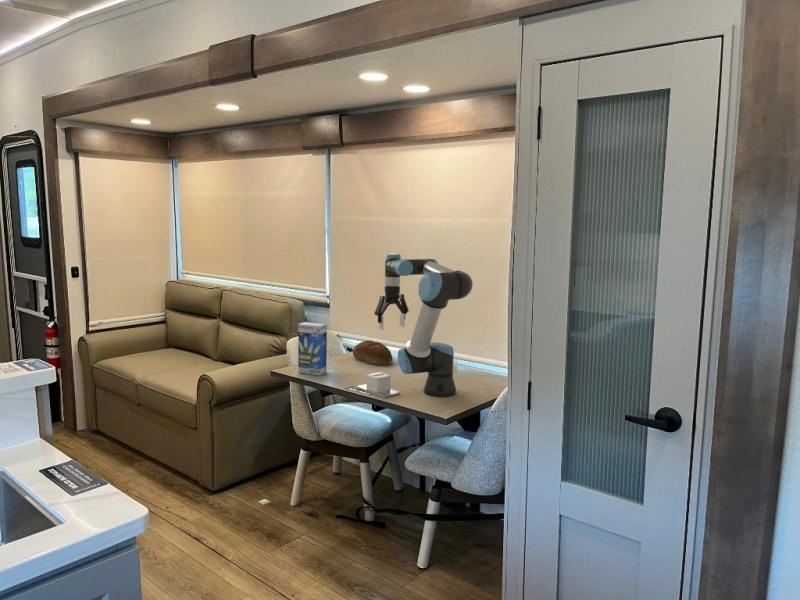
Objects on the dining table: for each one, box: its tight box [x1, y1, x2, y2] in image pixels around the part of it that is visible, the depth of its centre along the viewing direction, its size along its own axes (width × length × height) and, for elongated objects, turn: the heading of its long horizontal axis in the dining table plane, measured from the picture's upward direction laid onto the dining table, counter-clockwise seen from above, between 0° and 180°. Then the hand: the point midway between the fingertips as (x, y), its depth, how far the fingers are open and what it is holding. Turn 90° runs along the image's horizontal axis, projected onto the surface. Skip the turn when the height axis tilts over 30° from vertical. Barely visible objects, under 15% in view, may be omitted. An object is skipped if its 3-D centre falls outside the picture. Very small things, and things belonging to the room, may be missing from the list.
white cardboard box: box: [365, 371, 391, 392], centre depth 281 cm, size 8×8×7 cm
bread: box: [352, 339, 393, 366], centre depth 340 cm, size 16×29×11 cm, turn 40°
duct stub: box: [356, 383, 401, 399], centre depth 281 cm, size 20×10×6 cm, turn 41°
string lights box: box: [297, 321, 328, 376], centre depth 311 cm, size 13×8×26 cm, turn 69°
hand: (391, 327), depth 297 cm, fingers open, 13 cm apart
